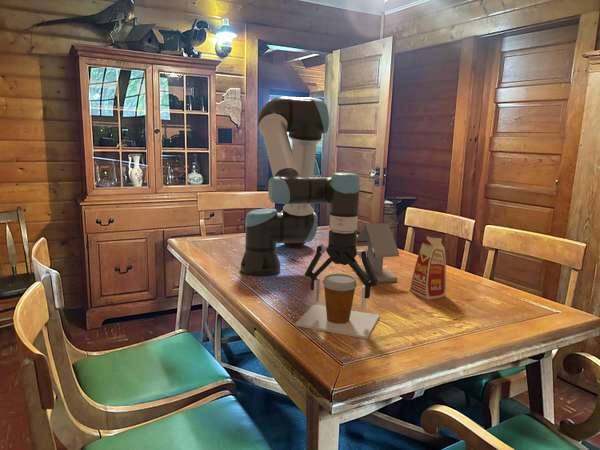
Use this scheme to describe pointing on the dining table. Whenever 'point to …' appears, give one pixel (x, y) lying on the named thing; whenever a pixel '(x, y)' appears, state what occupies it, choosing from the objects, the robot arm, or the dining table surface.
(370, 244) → the folded metal stand
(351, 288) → the disposable coffee cup
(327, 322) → the grey mat
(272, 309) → the dining table surface
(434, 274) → the milk carton
